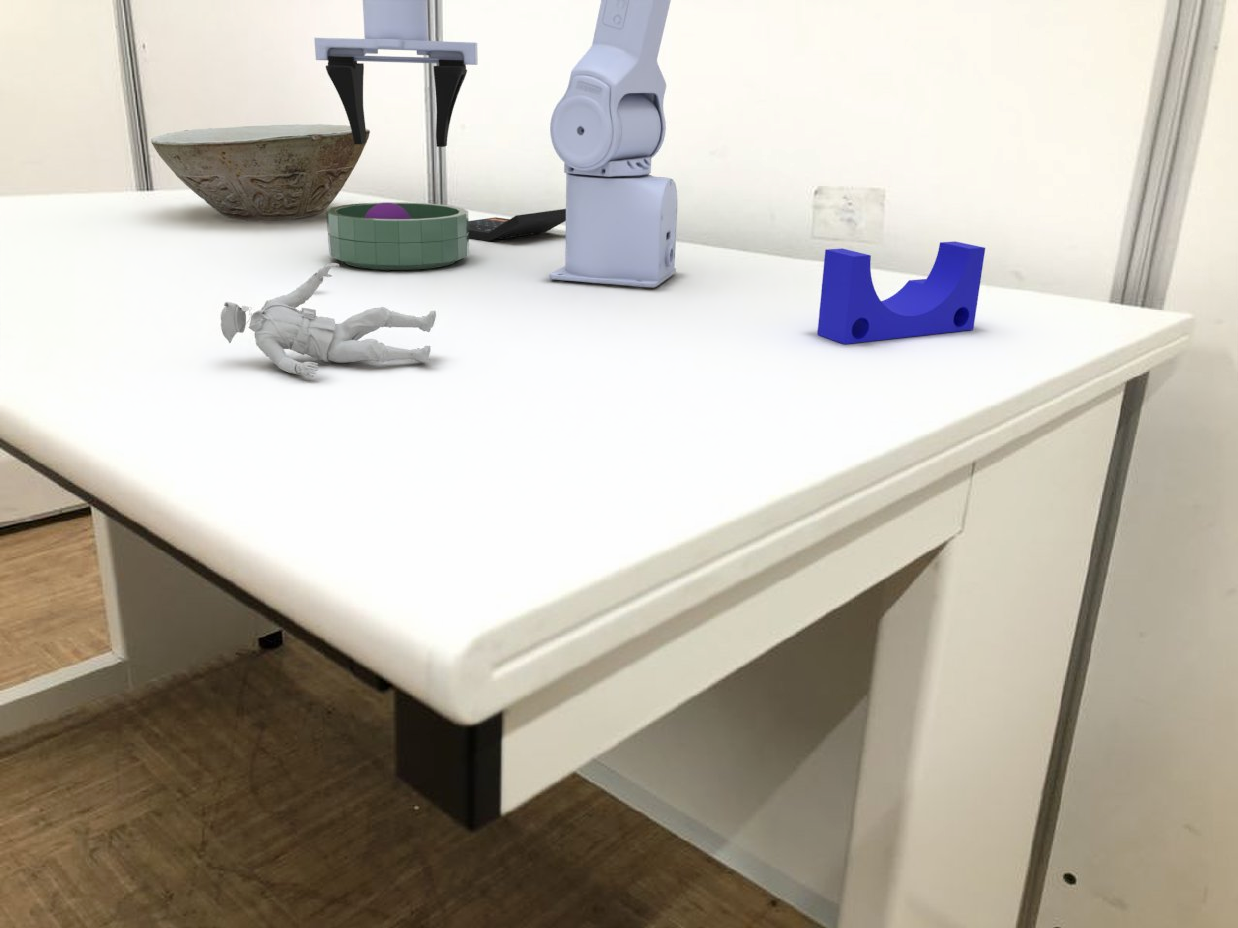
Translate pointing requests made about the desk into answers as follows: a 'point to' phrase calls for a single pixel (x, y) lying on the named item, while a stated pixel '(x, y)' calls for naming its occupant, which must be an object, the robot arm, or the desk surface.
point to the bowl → (263, 167)
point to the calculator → (515, 225)
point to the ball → (387, 212)
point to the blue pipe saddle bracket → (899, 297)
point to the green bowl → (398, 236)
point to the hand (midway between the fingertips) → (401, 145)
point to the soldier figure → (320, 330)
